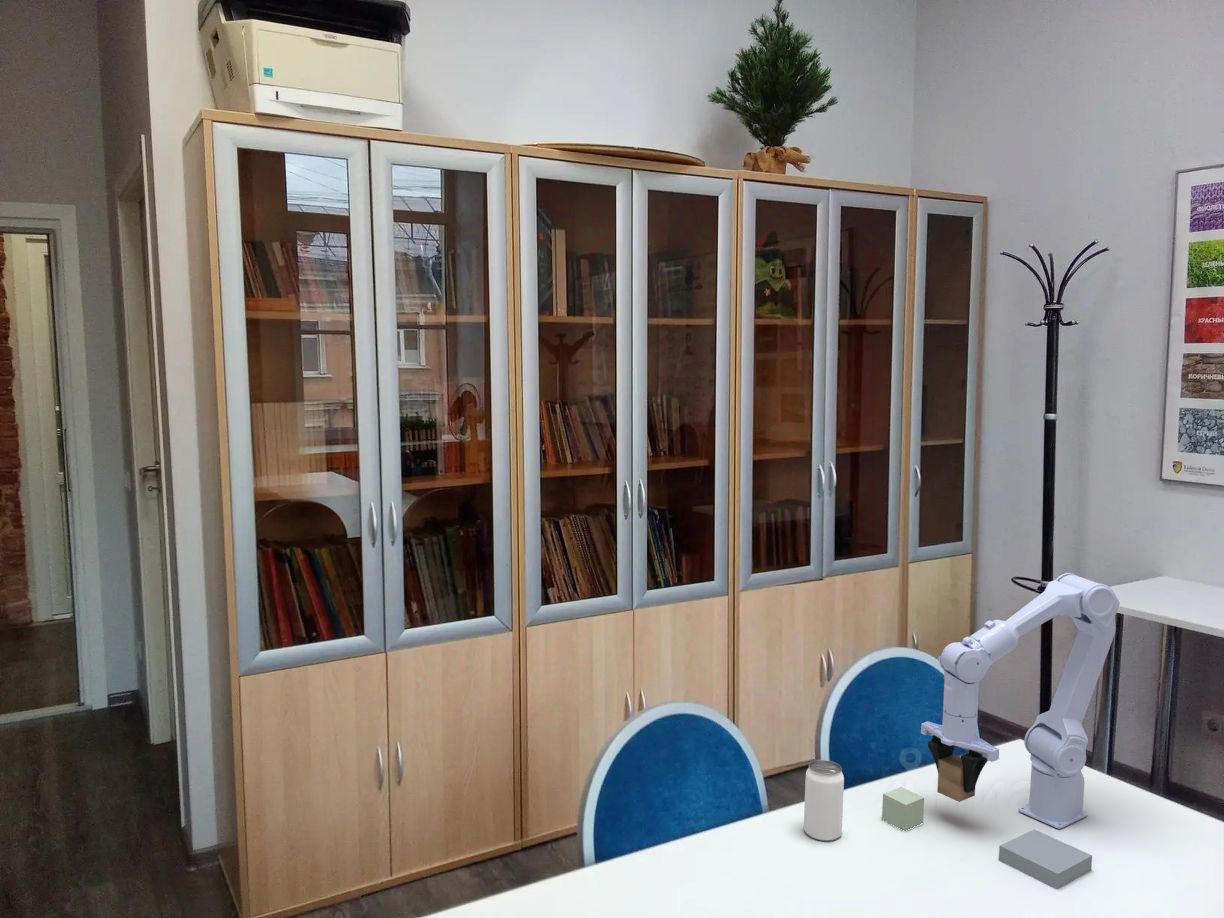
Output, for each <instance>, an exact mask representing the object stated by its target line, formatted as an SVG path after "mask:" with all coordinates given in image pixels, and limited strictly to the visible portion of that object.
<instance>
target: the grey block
mask: <svg viewBox="0 0 1224 918" xmlns="http://www.w3.org/2000/svg"><path fill="white" fill-rule="evenodd" d="M998 850H999V851H998V861H999V862H1001V863H1003V864H1005V865H1008V866H1009V867H1011V868H1013V869H1015V870H1017V871H1019V872H1020V873H1021V872H1022V873H1023V874H1026V875H1027V876H1028V877H1031V878H1034V879H1035V880H1037V881H1039V882H1041V883H1044V884H1045V885H1047V886H1050V887H1051V888H1053V889H1055V890H1058V889H1060V888H1062V887H1064V886H1067V885H1068V884H1069V883H1072V882H1073V881H1075V880H1077V879H1079V878H1081V877H1082V876H1084V875H1086V874H1088V873H1090V872H1091V871H1092V868H1093V867H1092V866H1093V855H1092V854H1090V853H1087V852H1086V851H1083V850H1080V849H1078V848H1077V847H1074V846H1073V845H1071V844H1070V845H1069V844H1067V843H1065V842H1064V841H1062V840H1058V839H1057V838H1055V837H1052V836H1050V835H1048V834H1046V833H1043V832H1041V831H1039V830H1037V829H1031V830H1029V831H1027V832H1025V833H1023V834H1021V835H1019V836H1018V837H1015V838H1013V839H1011V840H1008V841H1007V842H1004V843H1001V844H1000V845H999V846H998Z"/></svg>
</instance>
